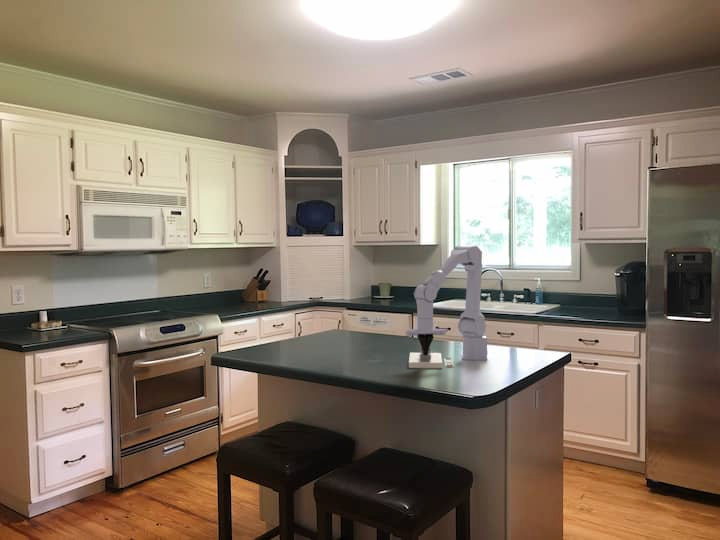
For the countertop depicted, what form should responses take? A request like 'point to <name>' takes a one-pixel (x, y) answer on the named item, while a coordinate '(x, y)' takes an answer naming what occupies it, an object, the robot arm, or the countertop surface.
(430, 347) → the button
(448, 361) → the card
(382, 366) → the countertop surface
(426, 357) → the button
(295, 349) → the countertop surface
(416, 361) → the board
